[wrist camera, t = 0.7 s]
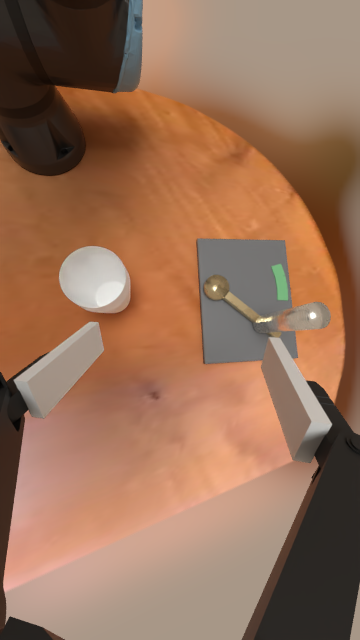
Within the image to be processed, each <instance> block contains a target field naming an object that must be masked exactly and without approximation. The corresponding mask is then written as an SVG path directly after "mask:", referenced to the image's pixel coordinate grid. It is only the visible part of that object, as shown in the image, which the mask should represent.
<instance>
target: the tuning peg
mask: <svg viewBox="0 0 360 640" xmlns="http://www.w3.org/2000/svg"><path fill="white" fill-rule="evenodd" d="M204 293H205V295H206V296H207V297H208V298H209V299H211V300H215V301H217V300H221V299H223V300H225V301H226V302H227V303H228V304H230V305H231V306H232V307H234V308H235V309H236V310H237V311H239V312H240V313H241V314H242V315H244V316H245V317H246V318H248V319H249V320H250V321H251V322H253V327H254V329H255V331H257V332H258V333H267V334H268V335H269V336H270V337H275V338H279V337H280V335H281V334H282V333H281V332H284V331H297V330H310V329H322V328H325V327H326V326H327V325H328V324H329V322H330V318H331V315H330V311H329V309H328V308H327V306H326V305H324V304H323V303H321V302H313V303H309V304H305V305H301V306H297V307H293V308H289V309H285V310H281V311H277V312H273V313H269V314H265V315H261V316H260V315H258V314H257V313H256V312H255V311H253V310H252V309H251V308H250V307H248V306H247V305H246V304H244V303H243V302H242V301H241V300H239V299H238V298H237V297H236V296H234V295H233V294H232V293H231V292H229V283H228V281H227V280H226V278H224V277H223V276H221V275H212V276H210V277H209V278H208V279H207V280H206V282H205V283H204Z"/></svg>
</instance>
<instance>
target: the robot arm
mask: <svg viewBox="0 0 360 640" xmlns="http://www.w3.org/2000/svg"><path fill="white" fill-rule="evenodd" d="M142 9H143V0H0V140H1V142H2V144H3V146H4V147H5V149H6V150H7V151H8V153H9V154H10V155H11V157H12V158H13V159H14V160H15V161H16V162H17V163H18V164H19V165H20V166H21V167H23V168H24V169H26V170H28V171H30V172H33V173H36V174H41V175H56V174H61V173H64V172H66V171H68V170H70V169H72V168H73V167H74V166H76V165H77V164H78V163H79V161H80V160H81V158H82V157H83V154H84V151H85V138H84V135H83V132H82V129H81V127H80V124H79V122H78V120H77V118H76V116H75V115H74V114H73V112H72V111H71V109H70V108H69V106H68V105H67V103H66V102H65V100H64V99H63V97H62V96H61V94H60V93H59V91H58V90H57V88H56V87H55V86H63V87H71V88H80V89H88V90H96V91H104V92H112V93H117V92H132V91H134V90H135V89H136V88H137V87H138V85H139V81H140V75H141V63H142ZM103 351H104V347H103V342H102V337H101V332H100V327H99V322H89V323H87V324H86V325H85V326H83V327H82V328H81V329H79V330H78V331H77V332H76V333H74V334H73V335H72V336H70V337H69V338H68V339H66V340H65V341H64V342H63V343H61V344H60V345H59V346H57V347H56V348H55V349H53V350H52V351H51V352H48V353H46V354H44V355H42V356H40V357H39V358H37V359H36V360H35V361H33V363H31V364H29V365H28V366H27V367H25V368H24V369H23V370H21V371H20V372H19V373H17V374H16V375H15V376H13V377H12V378H11V379H9V380H8V381H7V382H6V381H5V379H4V377H3V375H2V373H1V372H0V640H65V639H63V638H61V637H59V636H57V635H55V634H54V633H52V632H50V631H48V630H46V629H45V628H43V627H40V626H37V625H34V624H31V623H28V622H25V621H22V620H19V619H16V618H13V617H9V619H8V621H7V623H6V625H5V621H6V598H5V594H4V589H3V578H4V570H5V562H6V555H7V548H8V540H9V533H10V526H11V518H12V511H13V504H14V496H15V489H16V482H17V474H18V467H19V459H20V452H21V445H22V437H23V430H24V423H25V417H24V415H23V414H24V413H25V412H26V411H27V410H29V412H30V414H31V416H32V417H37V418H43V419H44V418H45V417H46V416H47V415H48V414H49V412H50V411H51V410H52V409H53V408H54V407H55V406H56V405H57V403H58V402H59V401H60V400H61V399H62V398H63V397H64V395H65V394H66V393H67V392H68V391H69V390H70V389H71V387H72V386H73V385H74V384H75V383H76V382H77V381H78V380H79V378H80V377H81V376H82V375H83V374H84V373H85V372H86V370H87V369H88V368H89V367H90V366H91V365H92V364H93V363H94V361H95V360H96V359H97V358H98V357H99V356H100V355H101V353H102V352H103ZM261 369H262V372H263V375H264V378H265V380H266V383H267V386H268V389H269V392H270V395H271V398H272V401H273V404H274V407H275V410H276V413H277V416H278V419H279V421H280V424H281V427H282V430H283V433H284V436H285V439H286V442H287V445H288V448H289V451H290V454H291V457H292V459H293V460H295V461H301V462H307V463H311V461H312V459H313V457H314V456H315V457H316V460H317V462H318V464H319V466H318V468H317V470H316V471H315V473H314V474H313V476H312V481H311V483H310V486H309V488H308V490H307V493H306V495H305V497H304V499H303V502H302V504H301V506H300V509H299V511H298V513H297V515H296V518H295V520H294V522H293V524H292V527H291V529H290V531H289V534H288V536H287V538H286V540H285V543H284V545H283V547H282V550H281V552H280V554H279V556H278V558H277V561H276V563H275V565H274V568H273V570H272V572H271V574H270V577H269V579H268V581H267V584H266V586H265V588H264V590H263V593H262V595H261V597H260V599H259V602H258V604H257V606H256V609H255V611H254V613H253V615H252V618H251V620H250V622H249V624H248V627H247V629H246V631H245V633H244V636H243V638H242V640H350V634H351V628H352V623H353V618H354V612H355V606H356V600H357V595H358V590H359V583H360V435H358V434H356V433H354V432H353V431H352V429H351V428H350V426H349V425H348V424H347V422H346V421H345V419H344V418H343V416H342V415H341V413H340V412H339V410H338V409H337V407H336V406H334V403H333V402H332V400H331V399H330V398H329V396H328V394H327V393H326V391H325V390H324V389H323V388H322V387H321V386H320V385H319V384H317V383H316V382H314V381H306V380H305V379H304V377H303V375H302V374H301V372H300V370H299V369H298V367H297V365H296V364H295V362H294V360H293V359H292V357H291V355H290V354H289V352H288V350H287V349H286V347H285V345H284V344H283V342H282V340H281V339H280V338H275V337H269V338H268V342H267V346H266V349H265V353H264V357H263V361H262V365H261Z"/></svg>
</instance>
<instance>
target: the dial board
mask: <svg viewBox="0 0 360 640" xmlns="http://www.w3.org/2000/svg"><path fill="white" fill-rule="evenodd" d="M197 257H198V274H199V291H200V308H201V325H202V342H203V359H204V364H211V363H226V362H242V361H258V360H263V357H264V353H265V349H266V346H267V342H268V338H269V337H270V336H269V335H268V334H267V333H258V332H257V331H255V329H254V327H253V322H251V321H250V320H249V319H248V318H246V317H245V316H244V315H242V314H241V313H240V312H239V311H237V310H236V309H235V308H234V307H232V306H231V305H230V304H228V303H227V302H226V301H225V300H223V299H221V300H217V301H215V300H211V299H209V298H208V297H207V296H206V295H205V293H204V283H205V282H206V280H207V279H208V278H209V277H210V276H212V275H221V276H223V277H224V278H226V280H227V281H228V283H229V292H231V293H232V294H233V295H234V296H236V297H237V298H238V299H239V300H241V301H242V302H243V303H244V304H246V305H247V306H248V307H250V308H251V309H252V310H253V311H255V312H256V313H257V314H258V315H260V316H261V315H265V314H269V313H273V312H277V311H281V310H285V309H289V308H292V300H291V291H290V282H289V273H288V264H287V255H286V246H285V240H238V239H197ZM281 333H282V334H281V335H280V337H279V338H280V339H281V340H282V342H283V344H284V345H285V347H286V349H287V350H288V352H289V354H290V355H291V357H292V358H298V354H297V345H296V336H295V331H284V332H281Z"/></svg>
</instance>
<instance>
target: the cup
mask: <svg viewBox="0 0 360 640" xmlns="http://www.w3.org/2000/svg"><path fill="white" fill-rule="evenodd" d="M59 282H60V286H61V288H62V291H63V292H64V294H65V295H66V296H67V297H68V298H69V299H70V300H71V301H72V302H74V303H75V304H77V305H78V306H80V307H81V308H83V309H85V310H88V311H91V312H97V313H118V312H121V311H123V310H124V309H125V308H126V307H127V306H128V304H129V302H130V277H129V274H128V271H127V269H126V268H125V266H124V265H123V263H122V261H121V260H120V258H119V257H118V256H117V255H116V254H115V253H113V252H112V251H110V250H108V249H106V248H103V247H99V246H87V247H83V248H80V249H77V250H75V251H74V252H72V253H71V254H70V255H69V256H68V257H67V258H66V259H65V260H64V262H63V264H62V266H61V268H60V272H59Z"/></svg>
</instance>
